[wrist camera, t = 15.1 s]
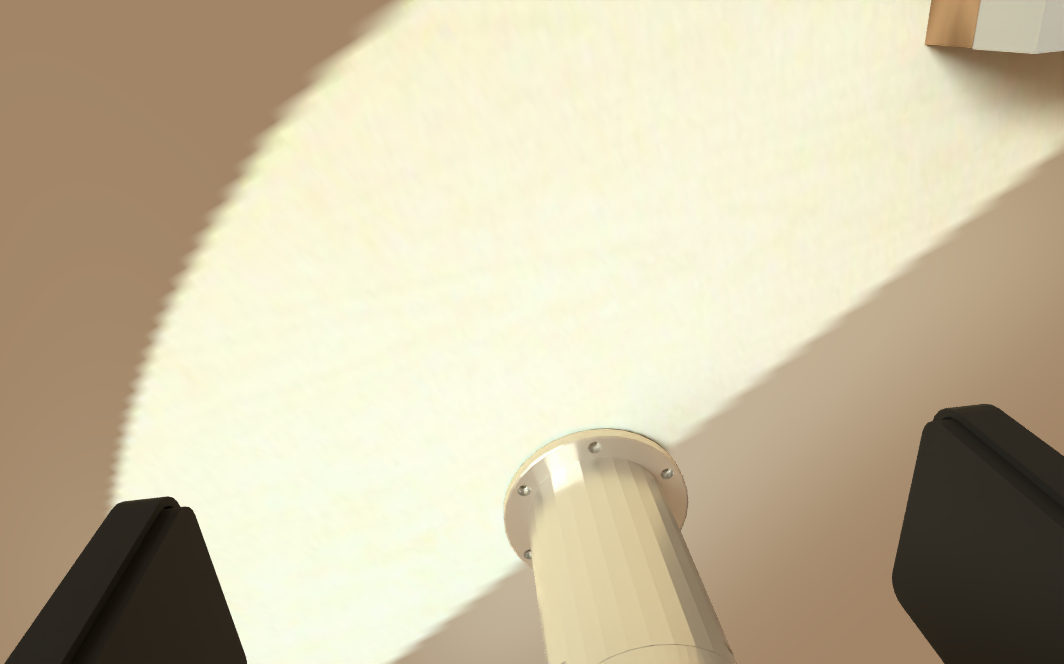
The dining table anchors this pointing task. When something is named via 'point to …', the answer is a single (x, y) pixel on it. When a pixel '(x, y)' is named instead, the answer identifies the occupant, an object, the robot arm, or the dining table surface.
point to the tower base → (952, 23)
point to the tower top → (1020, 26)
